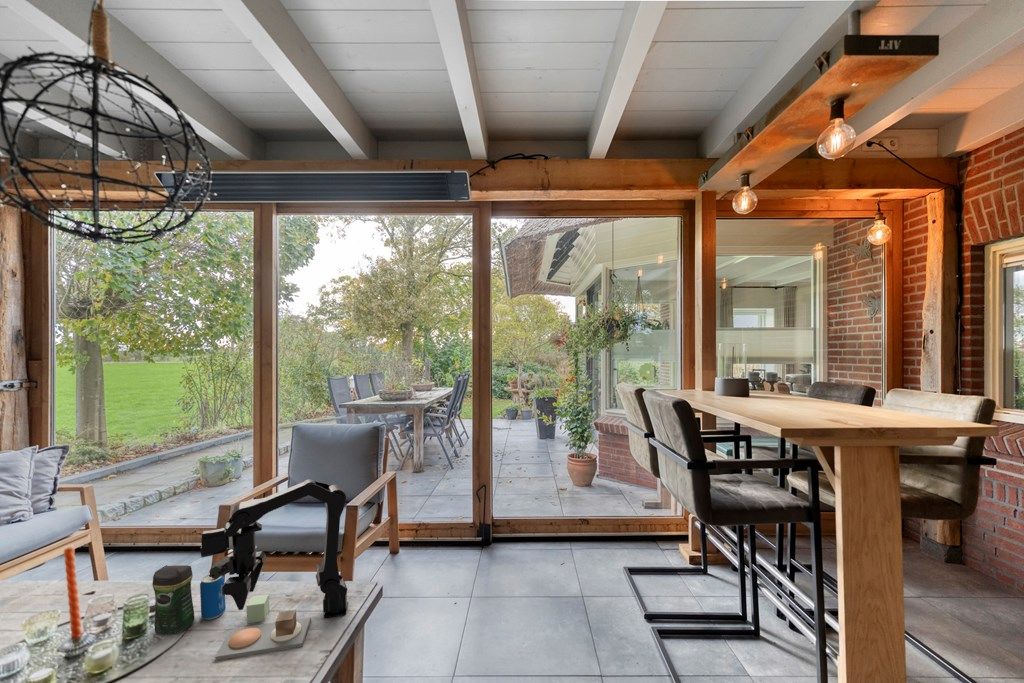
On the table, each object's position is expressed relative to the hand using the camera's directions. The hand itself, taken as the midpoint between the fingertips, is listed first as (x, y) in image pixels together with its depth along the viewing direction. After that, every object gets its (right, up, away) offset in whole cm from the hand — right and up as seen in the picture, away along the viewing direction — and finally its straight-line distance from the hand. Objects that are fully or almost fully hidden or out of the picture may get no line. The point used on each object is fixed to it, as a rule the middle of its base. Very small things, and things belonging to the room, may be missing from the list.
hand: (246, 600), depth 133 cm
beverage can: (-17, -11, +12) cm, 24 cm away
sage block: (-2, -11, +10) cm, 15 cm away
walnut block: (+11, -9, +1) cm, 15 cm away
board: (+6, -11, 0) cm, 13 cm away
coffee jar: (-25, -12, +6) cm, 28 cm away
